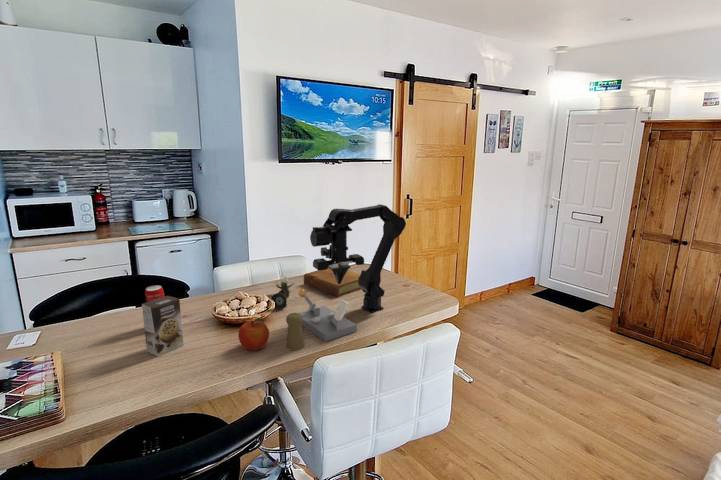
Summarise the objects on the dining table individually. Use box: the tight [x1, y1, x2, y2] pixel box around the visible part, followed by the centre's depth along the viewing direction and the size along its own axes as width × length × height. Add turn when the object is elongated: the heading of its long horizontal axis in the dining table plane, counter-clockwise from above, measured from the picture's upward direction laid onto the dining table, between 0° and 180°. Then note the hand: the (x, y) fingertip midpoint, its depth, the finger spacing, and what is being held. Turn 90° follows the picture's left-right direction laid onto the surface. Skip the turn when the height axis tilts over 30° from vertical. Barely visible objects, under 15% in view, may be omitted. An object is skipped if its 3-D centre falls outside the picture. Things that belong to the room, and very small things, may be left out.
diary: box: [303, 268, 362, 298], centre depth 189 cm, size 23×19×6 cm
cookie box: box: [141, 295, 184, 357], centre depth 128 cm, size 9×6×16 cm
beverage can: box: [144, 284, 166, 302], centre depth 144 cm, size 6×6×15 cm
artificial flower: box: [270, 277, 296, 310], centre depth 172 cm, size 9×22×10 cm, turn 176°
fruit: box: [237, 317, 270, 351], centre depth 131 cm, size 10×10×10 cm
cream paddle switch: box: [330, 298, 351, 326], centre depth 142 cm, size 2×4×9 cm, turn 28°
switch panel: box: [298, 302, 358, 343], centre depth 147 cm, size 13×21×6 cm, turn 38°
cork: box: [285, 312, 305, 351], centre depth 132 cm, size 6×6×11 cm
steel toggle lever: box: [297, 288, 317, 312], centre depth 150 cm, size 3×3×11 cm
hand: (338, 283), depth 153 cm, fingers closed
